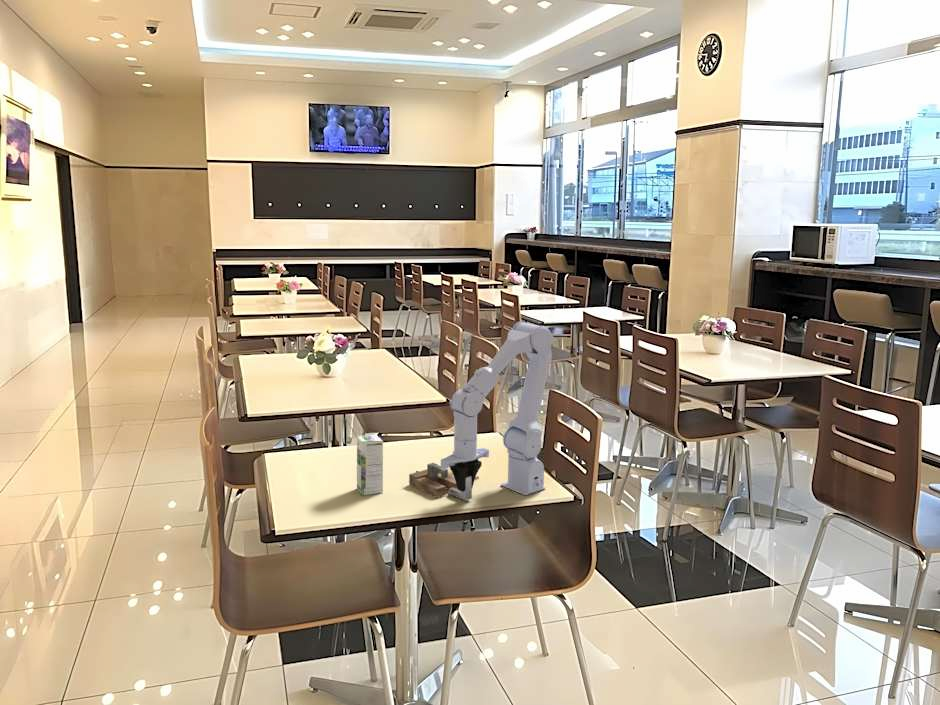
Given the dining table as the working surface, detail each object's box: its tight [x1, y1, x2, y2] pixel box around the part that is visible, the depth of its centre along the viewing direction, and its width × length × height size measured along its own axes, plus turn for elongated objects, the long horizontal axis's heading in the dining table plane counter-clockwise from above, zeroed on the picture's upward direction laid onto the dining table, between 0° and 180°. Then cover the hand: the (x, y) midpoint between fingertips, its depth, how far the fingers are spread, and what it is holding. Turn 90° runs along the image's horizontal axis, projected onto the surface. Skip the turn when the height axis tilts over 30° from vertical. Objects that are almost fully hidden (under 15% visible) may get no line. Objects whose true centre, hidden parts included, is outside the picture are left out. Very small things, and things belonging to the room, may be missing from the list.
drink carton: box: [356, 434, 384, 496], centre depth 201 cm, size 6×6×14 cm
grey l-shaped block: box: [448, 475, 473, 502], centre depth 198 cm, size 7×2×6 cm, turn 41°
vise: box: [408, 462, 457, 499], centre depth 206 cm, size 14×9×6 cm, turn 41°
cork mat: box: [447, 468, 480, 480], centre depth 214 cm, size 10×8×1 cm
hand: (464, 489), depth 196 cm, fingers closed on grey l-shaped block, 2 cm apart
